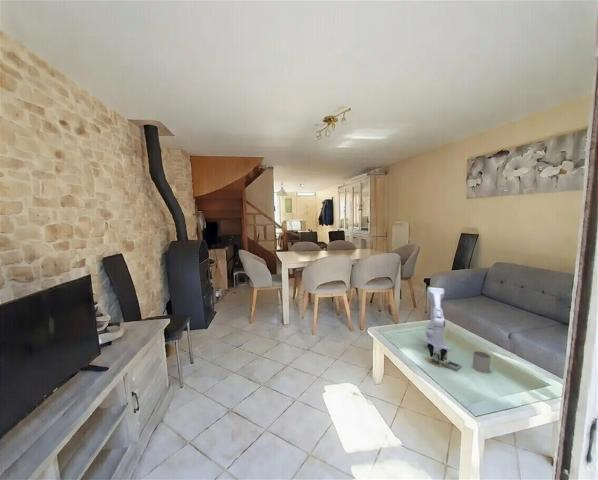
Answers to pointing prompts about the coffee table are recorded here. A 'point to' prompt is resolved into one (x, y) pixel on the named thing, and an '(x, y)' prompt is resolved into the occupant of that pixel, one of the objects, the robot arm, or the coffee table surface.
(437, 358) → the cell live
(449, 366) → the cradle
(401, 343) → the coffee table surface
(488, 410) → the coffee table surface
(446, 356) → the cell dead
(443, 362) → the tray
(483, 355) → the cup
